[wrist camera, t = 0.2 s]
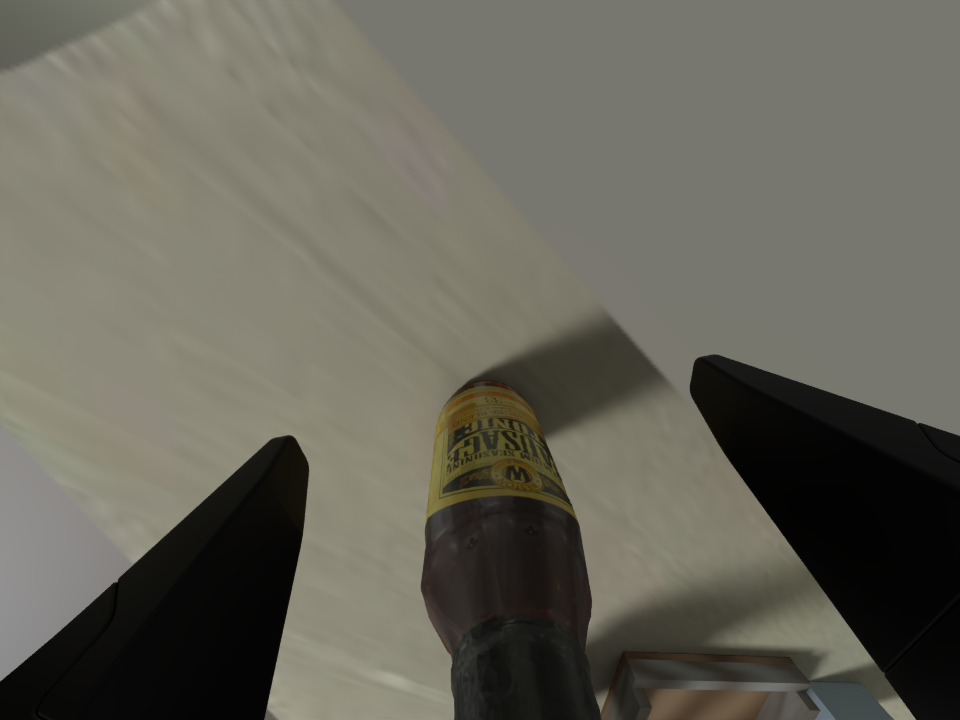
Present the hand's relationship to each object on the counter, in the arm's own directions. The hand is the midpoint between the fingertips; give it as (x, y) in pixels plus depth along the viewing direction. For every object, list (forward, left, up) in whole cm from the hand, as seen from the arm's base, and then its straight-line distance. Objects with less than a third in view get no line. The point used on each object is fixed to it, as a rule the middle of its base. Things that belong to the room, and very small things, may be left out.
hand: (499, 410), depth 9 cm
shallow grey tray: (-22, -36, -16) cm, 45 cm away
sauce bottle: (-6, -5, -16) cm, 18 cm away
